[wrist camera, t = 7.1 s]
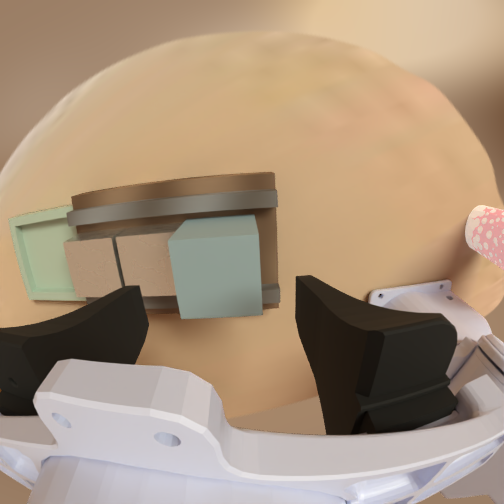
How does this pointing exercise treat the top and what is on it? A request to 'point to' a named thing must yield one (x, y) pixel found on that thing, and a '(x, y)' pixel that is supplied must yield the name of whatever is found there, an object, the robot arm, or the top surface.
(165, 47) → the top surface
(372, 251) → the top surface
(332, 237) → the top surface
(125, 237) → the chip
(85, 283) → the chip
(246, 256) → the sage green cube
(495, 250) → the beverage cup
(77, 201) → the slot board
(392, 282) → the top surface
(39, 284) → the chip tray
